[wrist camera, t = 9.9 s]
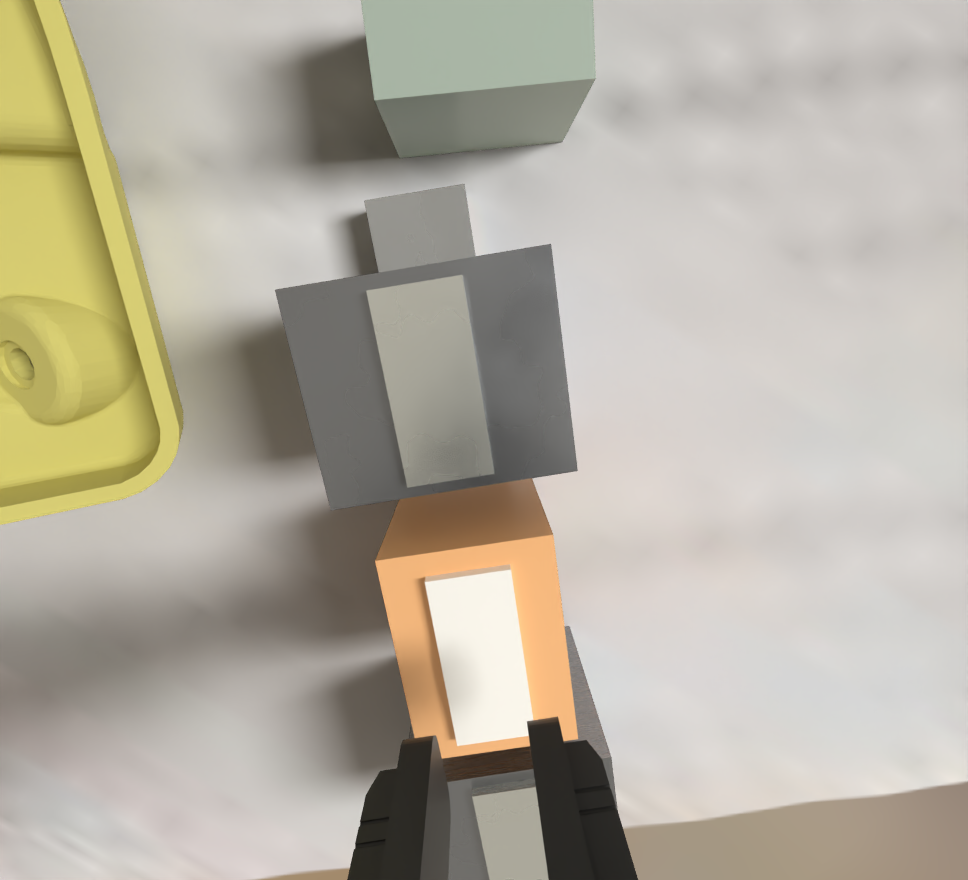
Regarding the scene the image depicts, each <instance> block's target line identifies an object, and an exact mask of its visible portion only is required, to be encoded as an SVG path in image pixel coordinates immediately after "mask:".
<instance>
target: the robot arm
mask: <svg viewBox="0 0 968 880" xmlns="http://www.w3.org/2000/svg"><path fill="white" fill-rule="evenodd" d="M527 727H528V734H529V741H530V749H531V756H532V763H533V770H534V778H535V785H536V792H537V799H538V806H539V814H540V821H541V828H542V835H543V843H544V850H545V857H546V864H547V871H548V879H549V880H638V878H637V875H636V871H635V868H634V865H633V862H632V858H631V855H630V851H629V848H628V845H627V841H626V838H625V834H624V831H623V828H622V824H621V821H620V818H619V814H618V811H617V809H616V804H615V801H614V797H613V794H612V791H611V789H610V784H609V781H608V777H607V774H606V771H605V767H604V764H603V760H602V759H601V757H600V756H599V755H598V754H597V752H596V751H595V750H594V749H593V747H592V746H591V745H590V744H589V742H588V741H587V740H582V741H576V742H569V743H564V741H563V736H562V732H561V727H560V723H559V719H558V717H551V718H545V719H538V720H532V721H527ZM450 824H451V812H450V797H449V790H448V784H447V780H446V775H445V771H444V766H443V762H442V757H441V753H440V748H439V744H438V740H437V737H436V735H433V736H426V737H419V738H413V739H406V740H403V741H402V744H401V749H400V755H399V761H398V767H397V769H391V770H384V771H380V772H379V774H378V776H377V777H376V779H375V781H374V782H373V784H372V786H371V788H370V789H369V791H368V793H367V794H366V797H365V802H364V807H363V811H362V816H361V820H360V827H359V829H358V834H357V838H356V843H355V845H356V847H355V849H354V852H353V857H352V861H351V866H350V870H349V875H348V879H347V880H448V873H449V848H450Z"/></svg>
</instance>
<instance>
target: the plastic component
mask: <svg viewBox="0 0 968 880" xmlns="http://www.w3.org/2000/svg"><path fill="white" fill-rule="evenodd" d="M29 358H30V359H29ZM30 360H31V362H32V365H33V366H32V365H31V363H30ZM33 367H34V368H33ZM182 429H183V410H182V406H181V402H180V399H179V395H178V391H177V387H176V384H175V380H174V376H173V373H172V369H171V365H170V361H169V358H168V354H167V350H166V346H165V343H164V339H163V335H162V331H161V328H160V324H159V320H158V316H157V313H156V309H155V305H154V302H153V298H152V294H151V290H150V287H149V283H148V279H147V275H146V272H145V268H144V264H143V260H142V257H141V253H140V249H139V245H138V242H137V238H136V234H135V231H134V227H133V223H132V219H131V216H130V212H129V208H128V204H127V201H126V197H125V193H124V189H123V186H122V182H121V178H120V174H119V171H118V167H117V163H116V160H115V157H114V155H113V154H112V152H111V150H110V148H109V145H108V143H107V140H106V137H105V134H104V131H103V128H102V124H101V120H100V116H99V112H98V109H97V105H96V101H95V97H94V94H93V91H92V88H91V85H90V82H89V78H88V75H87V72H86V69H85V66H84V63H83V61H82V58H81V56H80V53H79V50H78V48H77V45H76V43H75V40H74V38H73V35H72V32H71V29H70V26H69V23H68V21H67V18H66V15H65V13H64V10H63V8H62V5H61V2H60V0H0V525H2V524H6V523H11V522H16V521H21V520H25V519H30V518H35V517H40V516H44V515H49V514H54V513H59V512H63V511H68V510H73V509H78V508H82V507H87V506H92V505H97V504H101V503H106V502H111V501H116V500H120V499H124V498H127V497H129V496H132V495H134V494H137V493H139V492H142V491H143V490H145V489H146V488H148V487H149V486H151V485H152V484H154V483H155V482H157V481H158V480H159V479H160V478H161V476H162V475H163V474H164V473H165V472H166V471H167V470H168V469H169V468H170V466H171V464H172V462H173V460H174V458H175V456H176V453H177V449H178V445H179V441H180V438H181V434H182Z"/></svg>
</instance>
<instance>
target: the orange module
mask: <svg viewBox="0 0 968 880" xmlns="http://www.w3.org/2000/svg"><path fill="white" fill-rule="evenodd" d="M375 563H376V567H377V572H378V576H379V581H380V585H381V590H382V594H383V599H384V603H385V608H386V612H387V617H388V621H389V625H390V630H391V634H392V639H393V643H394V648H395V652H396V657H397V661H398V666H399V670H400V675H401V679H402V683H403V688H404V692H405V697H406V701H407V706H408V710H409V715H410V719H411V724H412V728H413V733H414V737H415V738H419V737H426V736H433V735H436V737H437V740H438V744H439V748H440V753H441V757H442V759H443V758H450V757H457V756H464V755H471V754H478V753H485V752H492V751H499V750H506V749H513V748H520V747H527V746H530V741H529V734H528V727H527V721H532V720H538V719H545V718H551V717H558V719H559V723H560V727H561V732H562V736H563V741H569V740H576V739H578V733H577V724H576V716H575V708H574V700H573V692H572V684H571V676H570V668H569V659H568V651H567V643H566V635H565V627H564V619H563V611H562V603H561V594H560V586H559V578H558V570H557V562H556V554H555V546H554V538H553V533H552V530H551V528H550V525H549V522H548V520H547V517H546V515H545V512H544V509H543V507H542V504H541V501H540V499H539V496H538V493H537V491H536V488H535V486H534V483H533V480H532V478H530V479H524V480H517V481H511V482H505V483H499V484H492V485H486V486H480V487H474V488H467V489H461V490H455V491H449V492H442V493H436V494H430V495H424V496H417V497H411V498H405V499H399V502H398V504H397V507H396V509H395V512H394V514H393V517H392V519H391V522H390V524H389V527H388V529H387V532H386V535H385V537H384V540H383V542H382V545H381V547H380V550H379V552H378V555H377V557H376V560H375Z"/></svg>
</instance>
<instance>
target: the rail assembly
mask: <svg viewBox="0 0 968 880" xmlns="http://www.w3.org/2000/svg"><path fill="white" fill-rule="evenodd" d="M364 202H365V207H366V212H367V217H368V222H369V227H370V232H371V237H372V242H373V247H374V252H375V257H376V262H377V267H378V272H379V273H373V274H367V275H361V276H355V277H349V278H343V279H337V280H331V281H325V282H319V283H313V284H307V285H301V286H295V287H289V288H283V289H277V290H275V292H276V296H277V300H278V304H279V308H280V312H281V316H282V320H283V324H284V327H285V331H286V335H287V339H288V343H289V347H290V351H291V355H292V359H293V363H294V367H295V371H296V375H297V379H298V383H299V387H300V391H301V395H302V398H303V402H304V406H305V410H306V414H307V418H308V422H309V426H310V430H311V434H312V438H313V442H314V446H315V450H316V454H317V458H318V462H319V465H320V469H321V473H322V477H323V481H324V485H325V489H326V493H327V497H328V501H329V505H330V509H331V510H336V509H342V508H349V507H355V506H361V505H367V504H374V503H380V502H386V501H392V500H399V499H405V498H411V497H417V496H424V495H430V494H436V493H442V492H449V491H455V490H461V489H467V488H474V487H480V486H486V485H492V484H499V483H505V482H511V481H517V480H524V479H530V478H536V477H543V476H549V475H555V474H561V473H568V472H574V471H578V470H577V462H576V453H575V445H574V436H573V428H572V419H571V411H570V402H569V394H568V385H567V376H566V368H565V359H564V351H563V342H562V334H561V325H560V317H559V308H558V300H557V291H556V283H555V274H554V266H553V257H552V249H551V244H548V245H542V246H536V247H530V248H524V249H518V250H512V251H506V252H500V253H494V254H488V255H481V256H475V250H474V243H473V237H472V230H471V224H470V218H469V211H468V205H467V198H466V192H465V185H464V184H460V185H454V186H448V187H442V188H436V189H430V190H424V191H419V192H413V193H407V194H401V195H395V196H389V197H383V198H377V199H371V200H365V201H364ZM565 635H566V643H567V651H568V659H569V668H570V676H571V684H572V692H573V700H574V708H575V716H576V724H577V733H578V739H576V740H569V741H564V743H569V742H576V741H582V740H587V741H588V742H589V744H590V745H591V746H592V747H593V749H594V750H595V751H596V752H597V754H598V755H599V756H600V757H601V759H602V760H603V764H604V767H605V771H606V774H607V777H608V781H609V784H610V789H611V791H612V794H613V797H614V801H615V804H616V809H617V802H616V793H615V785H614V776H613V768H612V759H611V755H610V752H609V749H608V745H607V742H606V739H605V736H604V733H603V730H602V727H601V724H600V720H599V717H598V714H597V711H596V708H595V705H594V702H593V699H592V695H591V692H590V689H589V686H588V683H587V680H586V677H585V674H584V670H583V667H582V664H581V661H580V658H579V655H578V652H577V648H576V645H575V642H574V639H573V636H572V633H571V630H570V627H565ZM413 738H415V737H414V733H413V728H412V724H411V728H410V735H409V739H413ZM442 762H443V766H444V771H445V775H446V780H447V784H448V790H449V797H450V812H451V824H450V848H449V873H448V880H549V879H548V871H547V864H546V857H545V850H544V843H543V835H542V828H541V821H540V814H539V806H538V799H537V792H536V785H535V778H534V770H533V763H532V756H531V749H530V746H527V747H520V748H513V749H506V750H499V751H492V752H485V753H478V754H471V755H464V756H457V757H450V758H443V759H442ZM617 811H618V810H617Z"/></svg>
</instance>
